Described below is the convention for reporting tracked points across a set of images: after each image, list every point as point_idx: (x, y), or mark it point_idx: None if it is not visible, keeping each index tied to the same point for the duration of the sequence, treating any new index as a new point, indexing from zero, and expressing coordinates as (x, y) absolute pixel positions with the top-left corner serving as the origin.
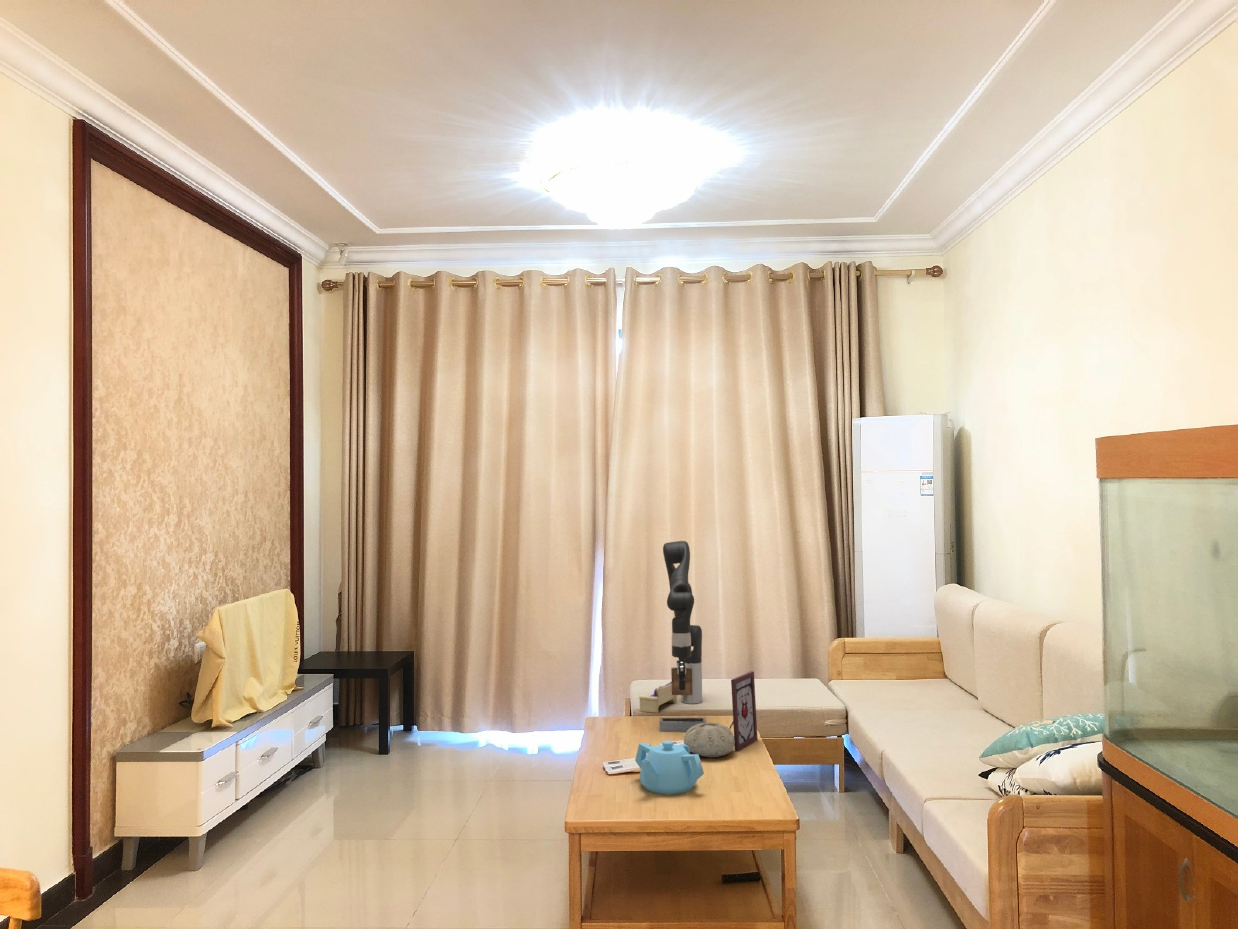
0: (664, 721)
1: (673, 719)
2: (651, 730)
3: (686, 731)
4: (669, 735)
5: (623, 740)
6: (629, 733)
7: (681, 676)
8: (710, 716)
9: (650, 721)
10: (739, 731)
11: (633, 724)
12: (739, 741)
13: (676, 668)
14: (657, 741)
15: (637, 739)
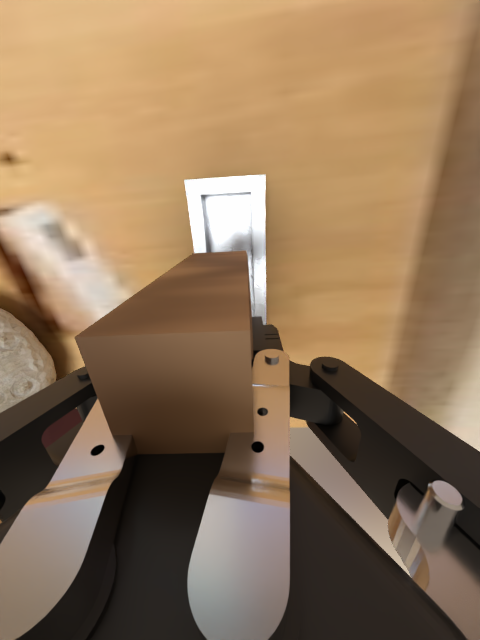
0: (199, 204)
1: (252, 240)
2: (205, 145)
3: None
4: (150, 229)
5: (22, 7)
6: (141, 26)
7: (79, 412)
8: (384, 350)
9: (346, 124)
10: (45, 447)
11: (298, 26)
12: (61, 425)
13: (158, 423)
14: (65, 188)
15: (62, 89)
